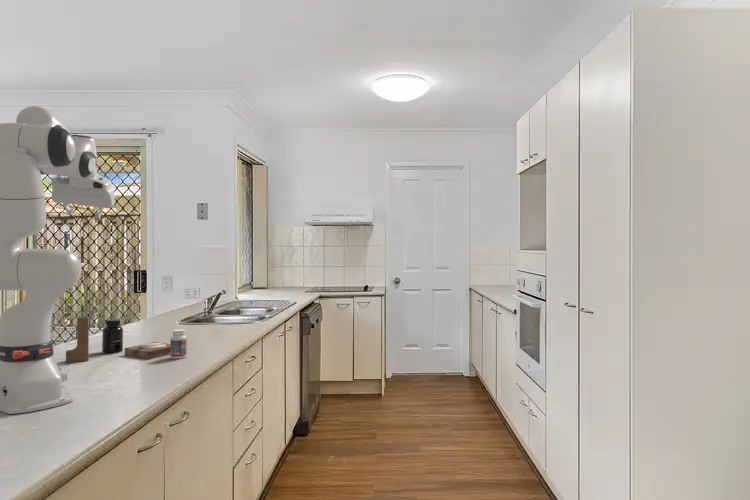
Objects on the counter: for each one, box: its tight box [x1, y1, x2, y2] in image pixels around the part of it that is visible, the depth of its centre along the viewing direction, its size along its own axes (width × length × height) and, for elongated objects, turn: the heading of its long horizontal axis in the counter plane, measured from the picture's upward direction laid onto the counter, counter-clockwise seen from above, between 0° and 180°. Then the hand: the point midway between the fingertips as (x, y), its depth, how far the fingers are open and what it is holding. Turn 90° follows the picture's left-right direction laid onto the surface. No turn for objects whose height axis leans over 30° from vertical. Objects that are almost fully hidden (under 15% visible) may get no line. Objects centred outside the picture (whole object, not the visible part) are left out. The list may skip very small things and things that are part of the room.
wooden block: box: [65, 316, 90, 364], centre depth 173 cm, size 7×3×15 cm, turn 118°
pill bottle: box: [170, 328, 188, 360], centre depth 180 cm, size 5×5×10 cm
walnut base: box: [124, 341, 171, 360], centre depth 185 cm, size 13×13×3 cm
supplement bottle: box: [101, 318, 124, 355], centre depth 187 cm, size 7×7×12 cm
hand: (84, 216), depth 186 cm, fingers open, 8 cm apart
